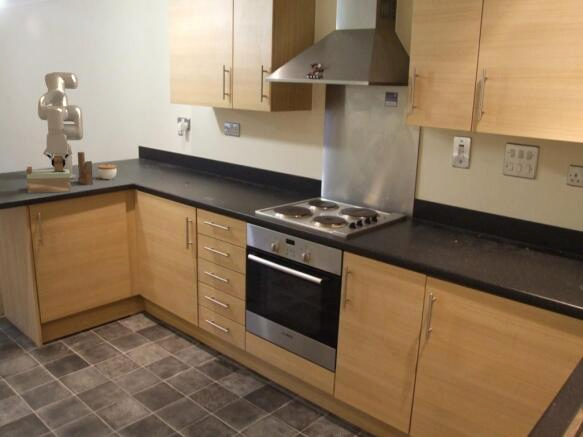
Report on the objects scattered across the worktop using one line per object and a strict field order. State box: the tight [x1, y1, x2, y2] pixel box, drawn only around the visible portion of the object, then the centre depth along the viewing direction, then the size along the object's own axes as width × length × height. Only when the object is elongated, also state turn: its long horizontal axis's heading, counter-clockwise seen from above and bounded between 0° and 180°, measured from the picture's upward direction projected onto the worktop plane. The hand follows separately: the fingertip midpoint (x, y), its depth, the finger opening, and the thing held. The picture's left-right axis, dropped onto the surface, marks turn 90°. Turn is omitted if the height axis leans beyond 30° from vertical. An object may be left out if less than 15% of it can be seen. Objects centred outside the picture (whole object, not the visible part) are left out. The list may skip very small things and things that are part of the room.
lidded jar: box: [97, 162, 118, 180], centre depth 317 cm, size 11×11×9 cm
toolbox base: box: [26, 178, 71, 194], centre depth 279 cm, size 12×20×8 cm, turn 113°
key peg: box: [53, 155, 63, 173], centre depth 279 cm, size 4×4×16 cm
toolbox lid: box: [25, 166, 70, 180], centre depth 277 cm, size 12×20×4 cm, turn 113°
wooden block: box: [77, 151, 94, 186], centre depth 297 cm, size 4×11×18 cm, turn 48°
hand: (58, 166), depth 278 cm, fingers closed on key peg, 4 cm apart
